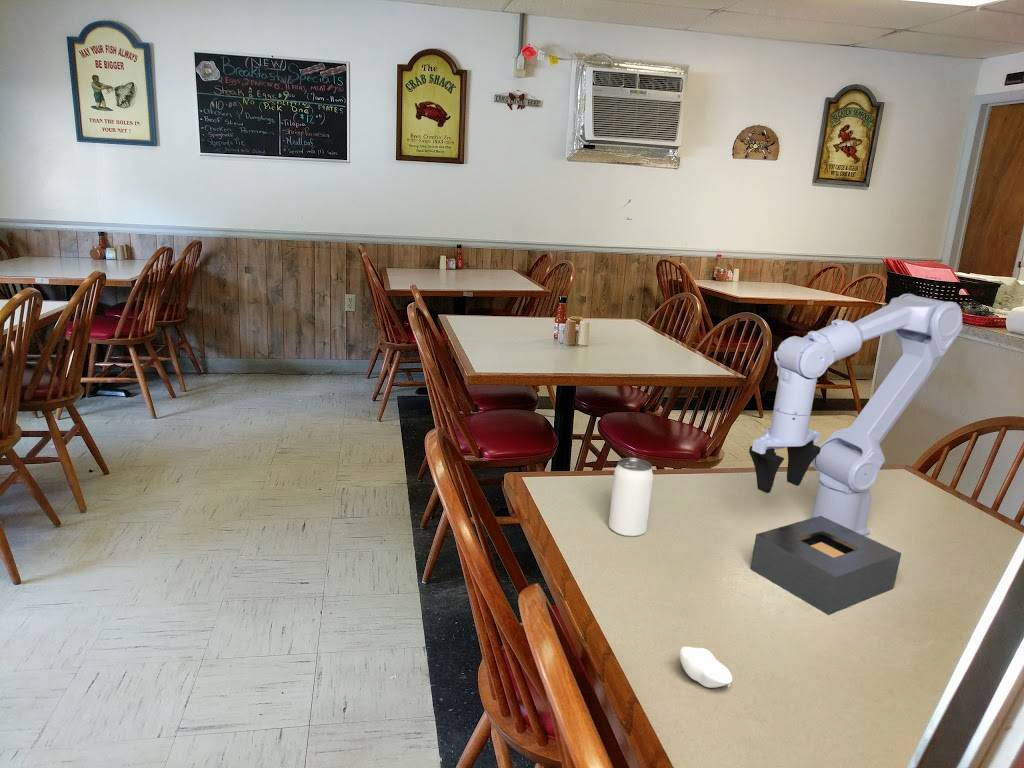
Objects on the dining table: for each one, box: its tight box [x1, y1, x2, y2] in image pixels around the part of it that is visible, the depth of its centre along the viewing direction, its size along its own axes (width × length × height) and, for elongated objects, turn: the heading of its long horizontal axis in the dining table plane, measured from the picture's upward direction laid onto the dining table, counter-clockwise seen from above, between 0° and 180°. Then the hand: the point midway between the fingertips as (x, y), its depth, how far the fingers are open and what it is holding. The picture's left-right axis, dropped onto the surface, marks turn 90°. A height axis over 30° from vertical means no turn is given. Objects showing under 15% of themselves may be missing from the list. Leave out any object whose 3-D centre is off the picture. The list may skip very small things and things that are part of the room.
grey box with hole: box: [750, 516, 903, 616], centre depth 111 cm, size 16×14×6 cm
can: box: [608, 457, 654, 538], centre depth 123 cm, size 6×6×12 cm
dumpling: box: [679, 645, 733, 689], centre depth 86 cm, size 7×5×4 cm
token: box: [811, 542, 844, 558], centre depth 112 cm, size 4×4×4 cm
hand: (778, 487), depth 122 cm, fingers open, 7 cm apart
